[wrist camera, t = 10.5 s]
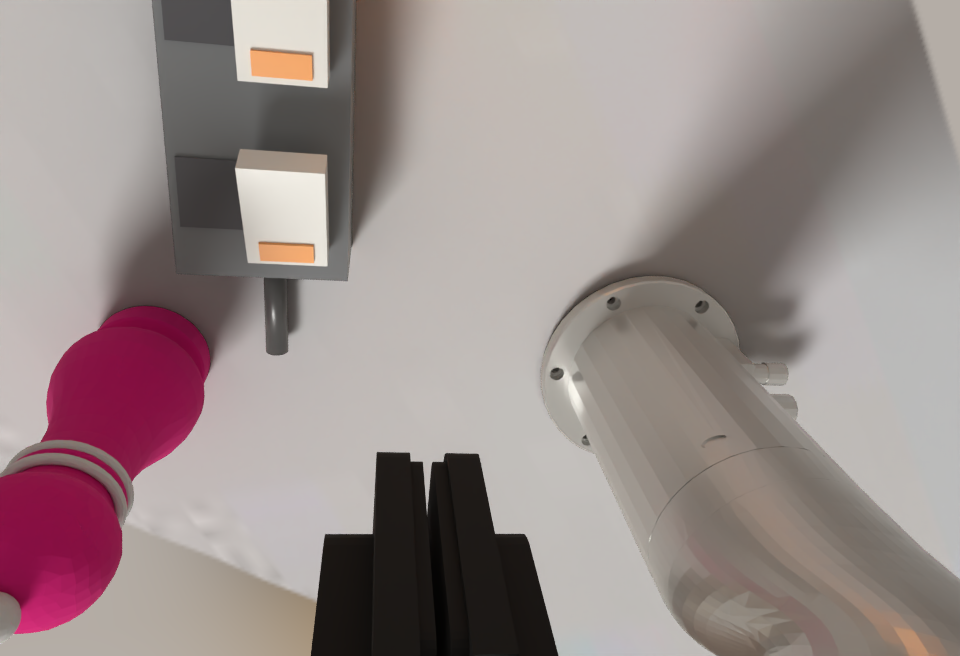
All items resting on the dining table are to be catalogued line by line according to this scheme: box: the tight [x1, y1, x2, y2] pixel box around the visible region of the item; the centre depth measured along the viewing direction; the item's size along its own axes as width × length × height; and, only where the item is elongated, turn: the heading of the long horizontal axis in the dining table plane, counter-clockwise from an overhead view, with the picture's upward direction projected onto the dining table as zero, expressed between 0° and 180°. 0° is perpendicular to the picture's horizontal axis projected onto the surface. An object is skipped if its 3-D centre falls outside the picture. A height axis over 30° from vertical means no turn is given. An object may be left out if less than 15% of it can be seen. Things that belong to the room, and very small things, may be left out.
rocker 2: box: [235, 149, 329, 266], centre depth 32 cm, size 4×5×2 cm
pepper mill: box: [0, 306, 210, 644], centre depth 32 cm, size 7×7×20 cm
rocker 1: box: [231, 0, 330, 88], centre depth 28 cm, size 4×5×2 cm
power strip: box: [152, 0, 356, 355], centre depth 33 cm, size 8×30×6 cm, turn 174°
